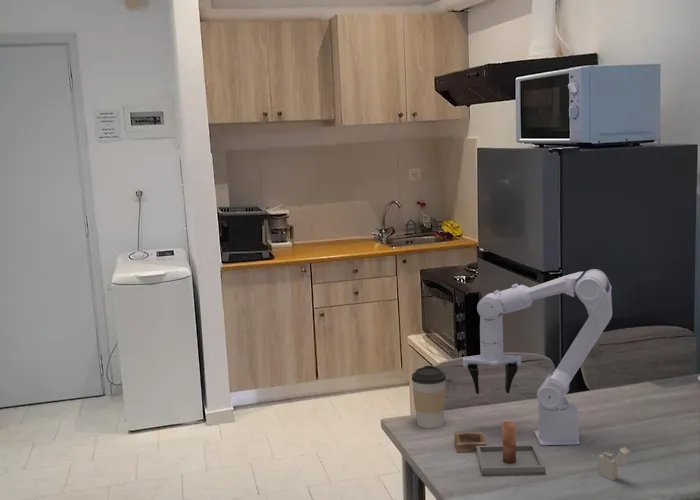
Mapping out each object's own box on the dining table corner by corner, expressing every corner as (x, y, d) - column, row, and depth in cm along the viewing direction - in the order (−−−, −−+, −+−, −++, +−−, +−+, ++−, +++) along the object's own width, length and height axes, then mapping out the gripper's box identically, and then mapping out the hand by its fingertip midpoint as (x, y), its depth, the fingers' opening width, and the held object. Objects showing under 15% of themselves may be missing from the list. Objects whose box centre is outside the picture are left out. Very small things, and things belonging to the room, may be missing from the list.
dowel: (514, 457, 172) (514, 421, 170) (517, 463, 169) (516, 426, 167) (501, 458, 172) (501, 421, 170) (503, 463, 169) (503, 426, 168)
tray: (534, 451, 176) (534, 444, 176) (545, 474, 164) (545, 466, 164) (476, 452, 177) (476, 445, 176) (482, 475, 165) (482, 468, 165)
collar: (482, 439, 184) (482, 432, 184) (486, 451, 177) (486, 443, 177) (454, 440, 184) (454, 432, 184) (457, 452, 178) (457, 444, 177)
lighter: (597, 473, 163) (597, 439, 162) (602, 471, 164) (603, 437, 163) (624, 485, 157) (624, 450, 156) (629, 483, 158) (630, 448, 157)
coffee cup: (445, 430, 191) (444, 375, 188) (411, 429, 193) (409, 374, 190) (448, 417, 200) (446, 364, 197) (415, 416, 201) (413, 363, 199)
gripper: (464, 346, 182) (465, 398, 184) (523, 344, 181) (523, 397, 183) (461, 338, 189) (462, 388, 191) (518, 336, 188) (518, 387, 190)
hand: (492, 392), depth 188 cm, fingers open, 7 cm apart
